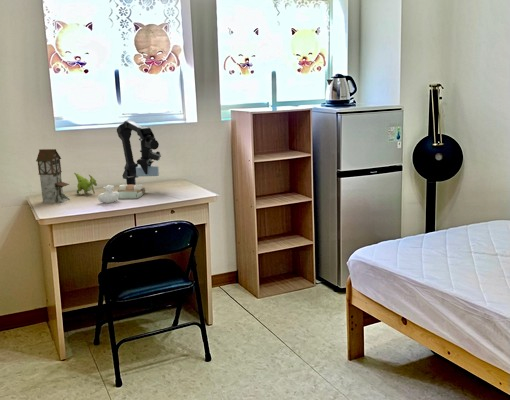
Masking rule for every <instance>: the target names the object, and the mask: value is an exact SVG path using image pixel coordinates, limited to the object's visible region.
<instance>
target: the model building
mask: <svg viewBox="0 0 510 400" xmlns="http://www.w3.org/2000/svg"><path fill="white" fill-rule="evenodd" d="M61 159H62V158H61V156H60V154H59V153H58V151H57V149H56V148H54V149H53V148H47V149H45V148H43V149H41V148H40V149H38V154H37V157H36V160H35V162H37V169H38V175H39V178H40V179H39V181H40V189H41V197H42V203H48V204H49V203H50V204H51V203H52V204H55V203H64V202H66V201H70V199H71V198H70V197H68V196H67V195H66V194H65V193H64V190H63V187H68V186H69V185H70V183H67V182H64V181H62V172H63V171H62V166H61V165H62V164H61Z"/></svg>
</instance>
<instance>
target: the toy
mask: <svg viewBox="0 0 510 400" xmlns="http://www.w3.org/2000/svg"><path fill="white" fill-rule="evenodd" d="M73 175H75V177H76V180H77V184H76V185H77V189H76V194H77V195H80V192H81V191H82V190H83V193H84V195H85V196H87V194H88V193H89V192H90V191H91V190H92V192H93V194H96V193H95V190H94V186H95V187H96V186H97V185H98V183H97V180H96V179H95V178H94V177H93V176H92V175H91V174H88V176H89V177H90V180H89V179H87V178H86V177H84V176H81V175H80V174H78V173H76V172H74V173H73Z"/></svg>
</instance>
